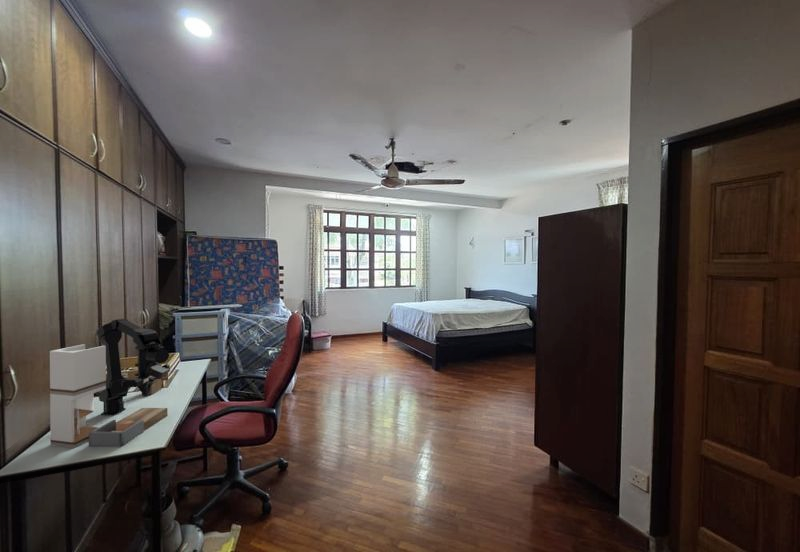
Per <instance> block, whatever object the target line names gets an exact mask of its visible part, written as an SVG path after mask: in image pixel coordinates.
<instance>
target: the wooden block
mask: <svg viewBox="0 0 800 552" xmlns="http://www.w3.org/2000/svg"><path fill="white" fill-rule="evenodd" d="M161 365H162V363H158V366H161ZM161 390H162V379H157V380H156V381H154V382H153V384H152V386H151V389H150V391H149V394H148V396H152V395H153V394H155V393H157V392H159V391H161ZM141 394H142V393H141ZM142 396H143V394H142Z"/></svg>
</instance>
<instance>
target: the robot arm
mask: <svg viewBox="0 0 800 552" xmlns="http://www.w3.org/2000/svg"><path fill="white" fill-rule="evenodd" d="M123 333H124V334H125V335H127V336H129V337H131V338H132V342H133V343H134V344H136V346H135V347H134V349H135V350H137V363H135V365H134V366H135V367H137V372H135V373H134V376H130V377H128V378H125V377H124V376H123V374H122V367H121V357H120V349H119V343H120V342H121V339H122V338H123ZM96 336H97V339H98V341H99V343H101V344H102V346H106V389H104V390H101V391H100V394H99V395H98V400H99V402H101V403H103V412H101V413H100V415H101V416H102V415H103V416H104V415H105V416H109V415H110V416H115V415H117V414H119V413H121V412H123V411H125V410H127V409H126V407H125V400H124V397H127V396H128V392H129V388H138V389H139V391H140V392H141V394H143V395H142V396H143V397H144V398H145V397H148V396H149V395H148V394H149V391H150V389H151V386H152V384H153V382H154V381H156V380H157V379H161V380H162V379H163V378H166V377H167V375H168V373H170V372H171V365H170V364H168V363H166V362H167V361H168V360H169V358H170V354H169V351H168V350H166V349H165V346H163V341H162V339H161V338H160V337H159V334H158V332H157V331H156V330H154V329H150V328H142V327H140V326H138V325H136V324H135V323H133V322H131V321H130V320H128V319H127V318H116V319H113V320H112V321H110V322H108V323H105V324H103V325H102V326H100V327H99V328H98V329H97V330H96ZM158 363H161V366H158ZM164 363H165V364H164ZM162 364H163V365H162Z"/></svg>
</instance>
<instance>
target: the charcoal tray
mask: <svg viewBox="0 0 800 552" xmlns="http://www.w3.org/2000/svg"><path fill="white" fill-rule="evenodd" d="M116 422H117V420H116V419H112V420H110V421H108V422H106V423H104V424H103V425H101V426H99V428H97V429H95V430H93V431H92V432H90V433H89V442H88V447H112V448H113V447H114V448H117V447H118V448H119V447H123V446H125V445H127V444H128V443H129V442H131V441H132V440H134V439H136V438H137V437H139V436H140V435H142V434H143V433H144V432H145V431H144V420H140V421H138V422H137V423H135V424H133V425H132V426H130V427H129V428H127V429H125V430H124V431H122V432H112V431H116ZM138 435H139V436H138ZM135 437H136V438H135Z"/></svg>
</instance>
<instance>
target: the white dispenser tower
mask: <svg viewBox="0 0 800 552" xmlns="http://www.w3.org/2000/svg"><path fill="white" fill-rule="evenodd" d="M106 380H107V368H106V346H104V345H101V346H96V347H90V348H88V349H87V348H86V344H85V343H84V344H83V343H81V344H79V345H73V346H69V347H63V348H59V349H58V348H57V349H53V350H50V351H49V402H50V404H49V408H50V409H49V413H50V419H49V420H50V428H49V429H50V446H53V445H55V447H62V448H68V449H69V448H70V449H75V448H78V447H80V446H82V445H85V444H87V443H89V433H90V432H92V431H93V430H95V429H97V428H99V427H100V426H99V427H98V426H90V425H89V426H88V425H87V424H86V423H87V420H86V419H87V418H86V416H88V415H90V414H92V413H94V412H95V409H94V407H95V404H94V403H95V402H94V397H95V396H94V394H96V393H98V392H102V391H103V390H104V389H106Z"/></svg>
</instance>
